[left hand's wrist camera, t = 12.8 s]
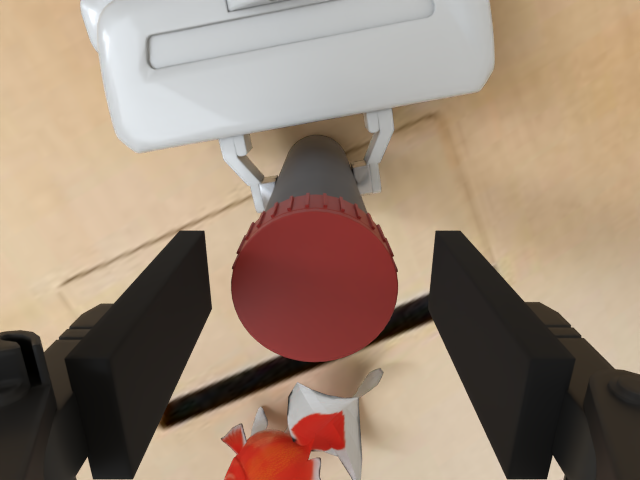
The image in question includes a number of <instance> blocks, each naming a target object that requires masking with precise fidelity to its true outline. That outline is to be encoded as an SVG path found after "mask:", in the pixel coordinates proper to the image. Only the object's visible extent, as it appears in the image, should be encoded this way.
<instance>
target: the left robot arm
mask: <svg viewBox="0 0 640 480" xmlns="http://www.w3.org/2000/svg"><path fill="white" fill-rule="evenodd" d="M211 310H212V304H211V294H210V284H209V274H208V263H207V253H206V243H205V232H204V231H179V232H178V233H177V234H176V235H175V237H174V238H173V239H172V240H171V241H170V242H169V243H168V244H167V245H166V247H165V248H164V249H163V250H162V251H161V252H160V253H159V254H158V255H157V257H156V258H155V259H154V260H153V261H152V262H151V263H150V264H149V265H148V266H147V268H146V269H145V270H144V271H143V272H142V273H141V274H140V275H139V276H138V278H137V279H136V280H135V281H134V282H133V283H132V284H131V285H130V286H129V287H128V289H127V290H126V291H125V292H124V293H123V294H122V295H121V296H120V297H119V299H118V300H117V301H116V302H115V303H114V304H99V305H98V306H96V307H94V308H92V309H90V310H89V311H87V312H85V313H83V314H82V315H81V316H80V317H79V318H78V319H77V320H76V321H75V322H74V323H73V324H72V325H71V326H70V328H69V329H67V330H66V331H65V332H64V333H63V334H62V335H61V336H60V337H59V340H56V341H55V342H54V343H53V344H52V345H51V346H50V347H49V348H48V349H47V350H46V351H45V352H44V351H43V347H42V344H41V340H40V337H39V336H38V335H36V334H35V333H33V332H29V331H22V330H18V331H6V332H1V333H0V480H77V479H76V475H77V473H78V471H79V470H80V468H81V467H82V465H83V463H84V462H85V460H86V458H87V457H88V460H89V464H90V468H91V473H92V477H93V479H133V478H134V476H135V474H136V472H137V469H138V467H139V465H140V463H141V461H142V459H143V456H144V454H145V452H146V450H147V448H148V446H149V443H150V441H151V439H152V437H153V435H154V433H155V431H156V428H157V426H158V424H159V422H160V420H161V418H162V415H163V413H164V411H165V409H166V407H167V405H168V402H169V400H170V398H171V396H172V394H173V392H174V390H175V387H176V385H177V383H178V381H179V379H180V377H181V374H182V372H183V370H184V368H185V366H186V364H187V361H188V359H189V357H190V355H191V353H192V351H193V349H194V346H195V344H196V342H197V340H198V338H199V336H200V333H201V331H202V329H203V327H204V325H205V323H206V320H207V318H208V316H209V314H210V312H211ZM428 310H429V312H430V314H431V316H432V318H433V320H434V323H435V325H436V327H437V329H438V331H439V333H440V336H441V338H442V340H443V342H444V344H445V346H446V349H447V351H448V353H449V355H450V357H451V359H452V361H453V364H454V366H455V368H456V370H457V372H458V374H459V377H460V379H461V381H462V383H463V385H464V387H465V390H466V392H467V394H468V396H469V398H470V400H471V402H472V405H473V407H474V409H475V411H476V413H477V415H478V418H479V420H480V422H481V424H482V426H483V428H484V431H485V433H486V435H487V437H488V439H489V441H490V443H491V446H492V448H493V450H494V452H495V454H496V456H497V459H498V461H499V463H500V465H501V467H502V469H503V472H504V474H505V476H506V478H507V479H547V477H548V473H549V468H550V464H551V460H552V456H554V458H555V459H556V461H557V462H558V464H559V466H560V467H561V469H562V471H563V472H564V474H565V476H564V479H563V480H640V374H636V373H633V372H629V371H625V370H617V369H614V368H613V367H612V366H611V365H610V364H609V363H608V362H607V361H606V360H605V359H604V358H603V357H602V356H601V355H600V354H599V353H598V352H597V351H596V350H595V349H594V348H593V347H592V346H591V345H590V344H589V343H588V342H587V341H586V340H585V339H584V338H581V335H580V334H579V333H578V332H577V331H576V330H575V329H574V328H571V325H570V324H569V323H568V322H567V321H566V320H565V319H564V318H563V317H562V316H561V315H560V314H559V313H558V312H556V311H554V310H553V309H551V308H549V307H547V306H545V305H544V304H542V303H540V302H524V301H523V300H522V299H521V297H520V296H519V295H518V294H517V293H516V292H515V291H514V290H513V289H512V287H511V286H510V285H509V284H508V283H507V282H506V281H505V280H504V279H503V278H502V276H501V275H500V274H499V273H498V272H497V271H496V270H495V269H494V268H493V266H492V265H491V264H490V263H489V262H488V261H487V260H486V259H485V258H484V257H483V255H482V254H481V253H480V252H479V251H478V250H477V249H476V248H475V247H474V245H473V244H472V243H471V242H470V241H469V240H468V239H467V238H466V237H465V235H464V234H463V233H462V232H461V231H436V232H435V243H434V253H433V263H432V274H431V284H430V294H429V304H428Z"/></svg>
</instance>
